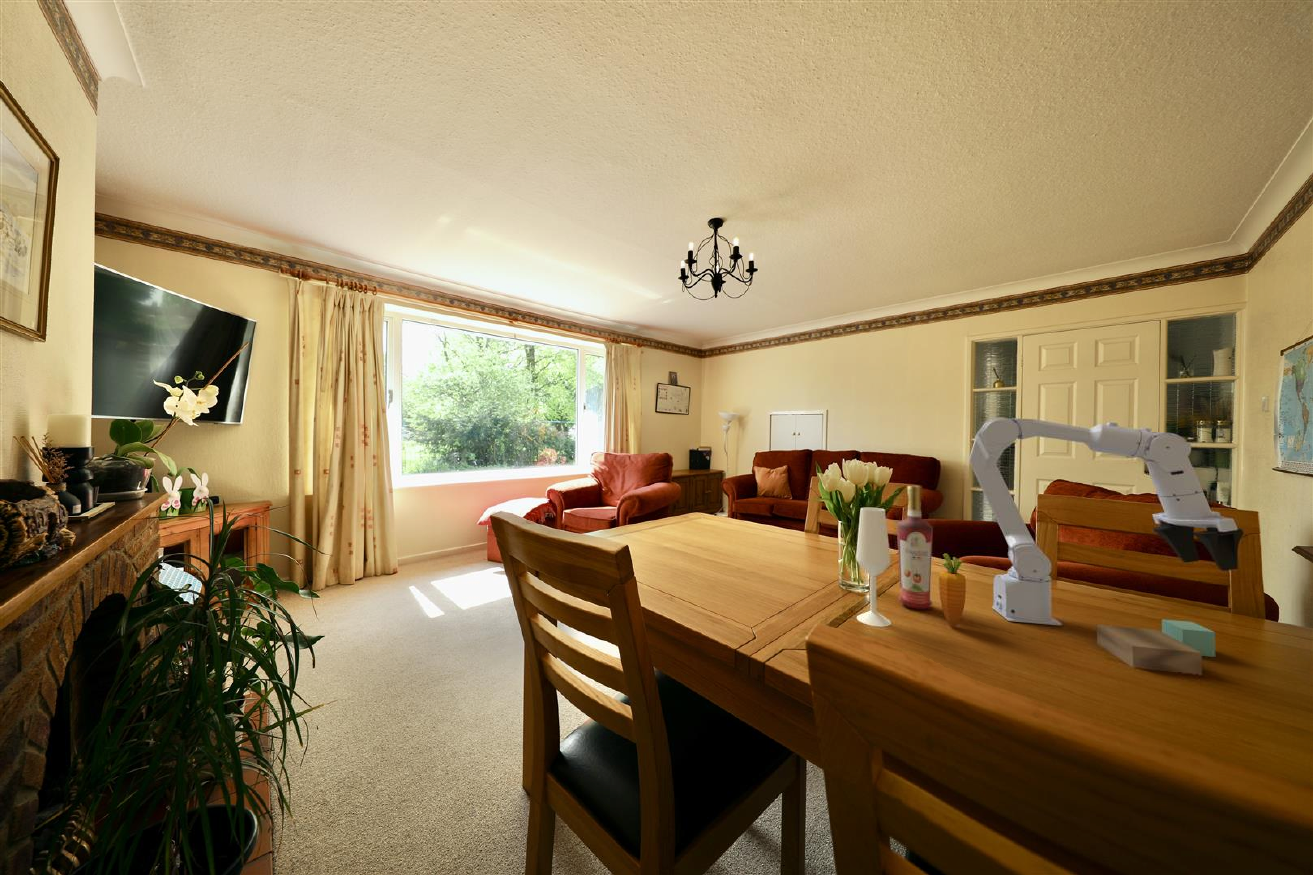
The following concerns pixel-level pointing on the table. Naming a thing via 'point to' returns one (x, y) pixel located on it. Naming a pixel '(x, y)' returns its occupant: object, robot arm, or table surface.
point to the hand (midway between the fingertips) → (1209, 565)
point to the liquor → (915, 555)
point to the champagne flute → (873, 557)
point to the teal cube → (1191, 635)
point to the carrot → (952, 591)
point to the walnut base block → (1149, 649)
